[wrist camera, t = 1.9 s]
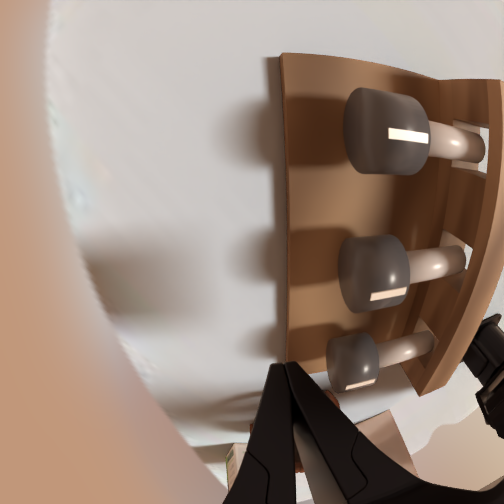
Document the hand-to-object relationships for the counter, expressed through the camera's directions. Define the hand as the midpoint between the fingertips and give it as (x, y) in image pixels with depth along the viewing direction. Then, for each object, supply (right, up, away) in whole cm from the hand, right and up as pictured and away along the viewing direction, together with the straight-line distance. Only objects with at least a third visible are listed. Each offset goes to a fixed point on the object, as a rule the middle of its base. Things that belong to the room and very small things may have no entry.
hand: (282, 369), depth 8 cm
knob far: (+8, -2, +10) cm, 13 cm away
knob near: (+7, +10, +3) cm, 13 cm away
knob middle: (+8, +4, +7) cm, 11 cm away
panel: (+7, +5, +8) cm, 12 cm away
